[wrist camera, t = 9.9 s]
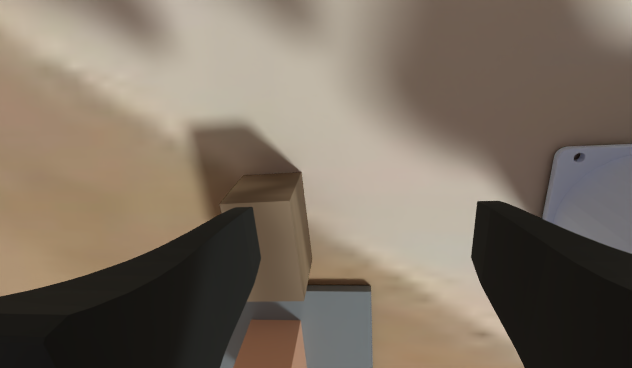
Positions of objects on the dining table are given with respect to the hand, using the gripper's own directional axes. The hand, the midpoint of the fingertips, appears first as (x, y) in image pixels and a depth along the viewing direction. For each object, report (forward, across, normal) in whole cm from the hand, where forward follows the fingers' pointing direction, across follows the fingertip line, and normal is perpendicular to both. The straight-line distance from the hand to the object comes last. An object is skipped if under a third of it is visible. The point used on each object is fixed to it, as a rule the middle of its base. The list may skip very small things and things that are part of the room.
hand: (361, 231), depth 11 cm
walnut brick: (+9, +5, +4) cm, 11 cm away
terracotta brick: (+8, +6, +14) cm, 18 cm away
